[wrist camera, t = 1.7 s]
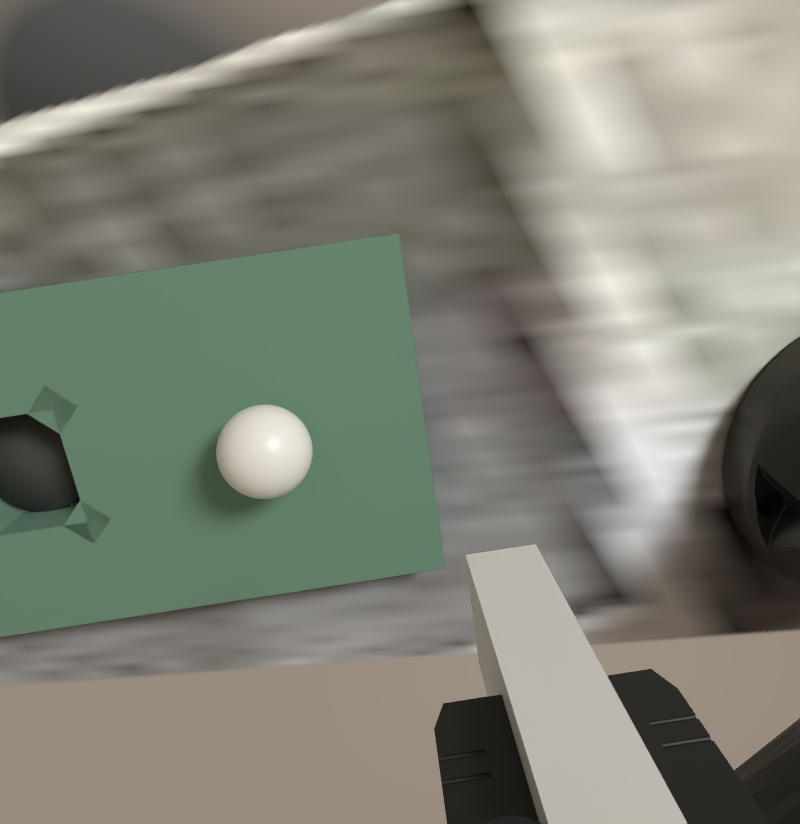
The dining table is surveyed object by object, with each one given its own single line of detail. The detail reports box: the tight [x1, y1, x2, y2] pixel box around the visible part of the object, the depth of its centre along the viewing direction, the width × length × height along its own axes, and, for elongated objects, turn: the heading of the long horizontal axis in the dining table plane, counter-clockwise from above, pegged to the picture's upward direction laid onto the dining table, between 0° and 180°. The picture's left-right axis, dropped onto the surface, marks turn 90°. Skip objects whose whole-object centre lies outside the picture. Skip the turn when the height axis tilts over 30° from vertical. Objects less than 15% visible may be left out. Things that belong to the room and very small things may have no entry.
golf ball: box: [216, 404, 313, 499], centre depth 27 cm, size 4×4×4 cm
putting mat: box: [0, 234, 445, 637], centre depth 30 cm, size 26×16×2 cm, turn 98°
